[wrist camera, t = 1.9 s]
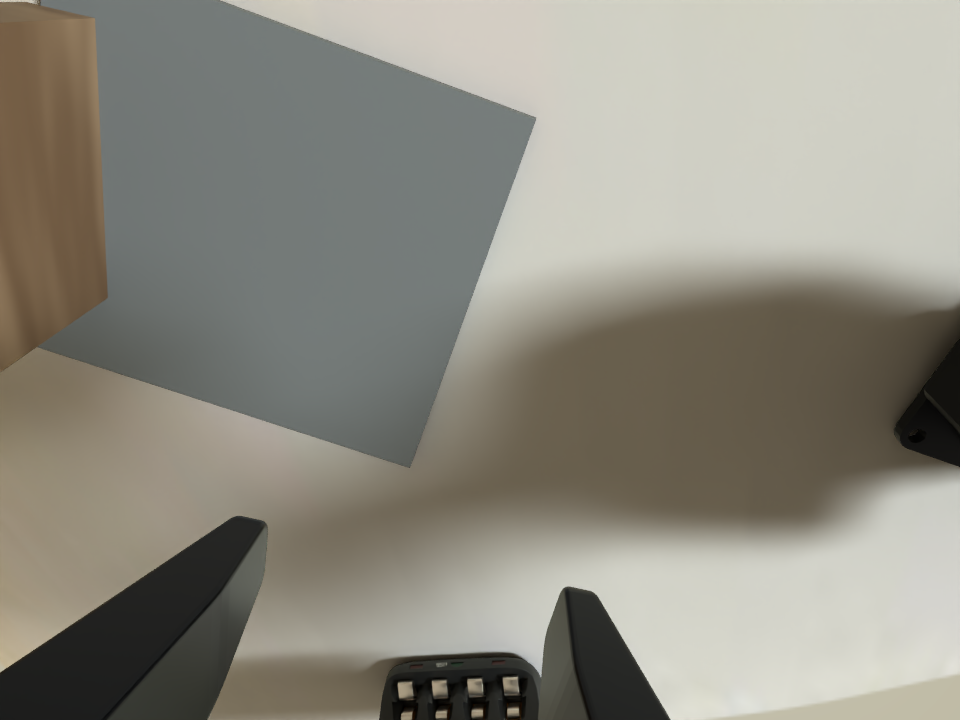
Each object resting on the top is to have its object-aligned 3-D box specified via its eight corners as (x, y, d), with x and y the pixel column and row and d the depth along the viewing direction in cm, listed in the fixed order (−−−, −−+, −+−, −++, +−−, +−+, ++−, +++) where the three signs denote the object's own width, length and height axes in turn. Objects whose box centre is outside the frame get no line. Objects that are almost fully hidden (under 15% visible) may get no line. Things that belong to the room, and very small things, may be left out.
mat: (536, 117, 19) (535, 119, 18) (411, 461, 24) (409, 468, 24) (52, -62, 18) (42, -63, 17) (37, 339, 23) (29, 344, 23)
